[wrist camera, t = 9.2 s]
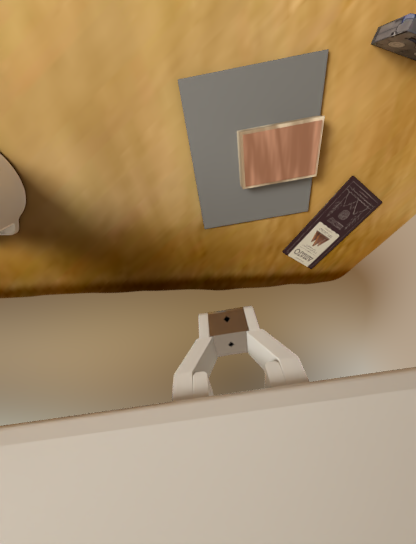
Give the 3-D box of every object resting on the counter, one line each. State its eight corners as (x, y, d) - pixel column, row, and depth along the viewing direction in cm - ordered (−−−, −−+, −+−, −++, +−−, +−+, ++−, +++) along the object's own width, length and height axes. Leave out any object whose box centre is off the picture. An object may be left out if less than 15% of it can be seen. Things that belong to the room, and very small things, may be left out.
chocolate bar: (382, 202, 41) (311, 269, 50) (379, 200, 42) (309, 266, 51) (354, 176, 38) (283, 252, 47) (351, 175, 39) (281, 250, 47)
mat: (204, 227, 42) (204, 228, 42) (177, 80, 29) (177, 79, 29) (306, 209, 42) (307, 211, 41) (326, 50, 29) (328, 49, 28)
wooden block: (243, 189, 35) (317, 176, 35) (240, 132, 30) (325, 116, 30) (240, 185, 37) (309, 172, 37) (236, 130, 33) (316, 115, 32)
